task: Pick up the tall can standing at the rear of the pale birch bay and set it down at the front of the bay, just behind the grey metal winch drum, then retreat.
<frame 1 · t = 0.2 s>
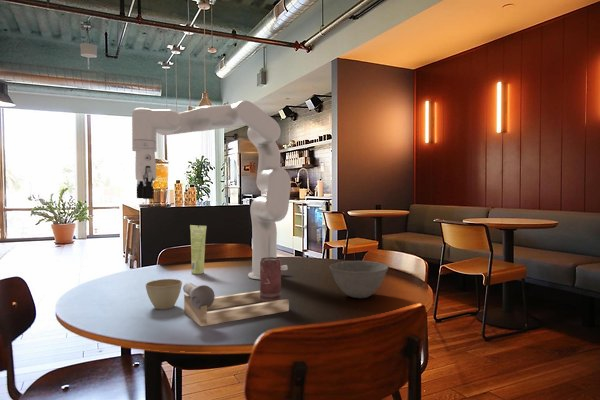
hand: (144, 198, 136), 31 cm above the table, fingers open, 9 cm apart
bay: (239, 311, 115), on the table
can: (270, 306, 121), resting in bay
tube: (198, 273, 167), on the table
bowl: (357, 296, 132), on the table
flower pot: (164, 307, 119), on the table
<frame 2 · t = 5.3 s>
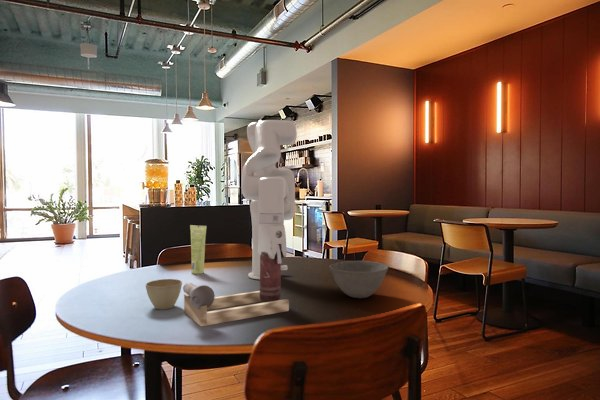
hand: (270, 280, 122), 7 cm above the table, fingers closed
can: (270, 299, 121), point 2 cm above the table, touching gripper
everything else where it was.
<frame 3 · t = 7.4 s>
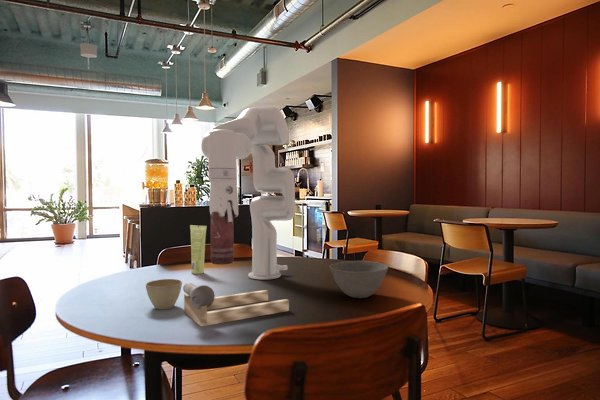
hand: (222, 242, 112), 20 cm above the table, fingers closed
can: (222, 263, 112), point 14 cm above the table, touching gripper
everything else where it was.
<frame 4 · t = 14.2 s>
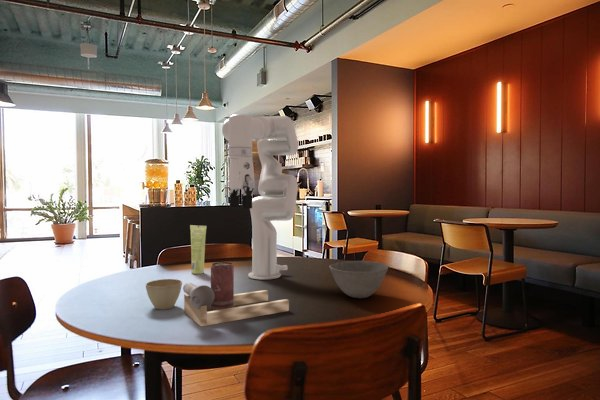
hand: (240, 207, 131), 28 cm above the table, fingers open, 9 cm apart
can: (222, 315, 112), resting in bay
everything else where it was.
at the end: can inside the target area on the bay (1.7 cm from its centre), point 0.0 cm above the bay's base; can tilted 0°; can moved 15.1 cm from its start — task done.
